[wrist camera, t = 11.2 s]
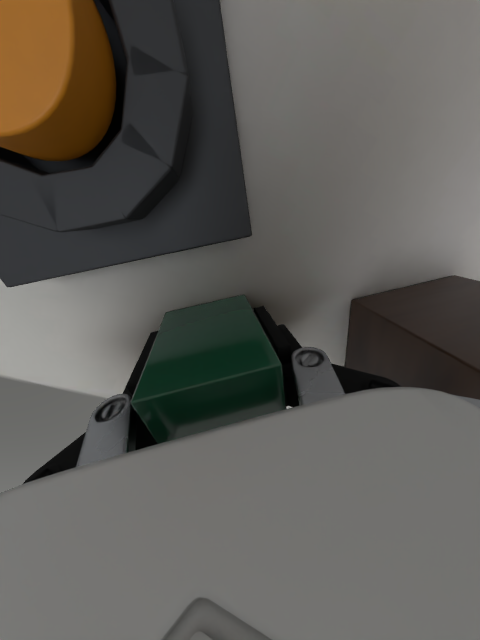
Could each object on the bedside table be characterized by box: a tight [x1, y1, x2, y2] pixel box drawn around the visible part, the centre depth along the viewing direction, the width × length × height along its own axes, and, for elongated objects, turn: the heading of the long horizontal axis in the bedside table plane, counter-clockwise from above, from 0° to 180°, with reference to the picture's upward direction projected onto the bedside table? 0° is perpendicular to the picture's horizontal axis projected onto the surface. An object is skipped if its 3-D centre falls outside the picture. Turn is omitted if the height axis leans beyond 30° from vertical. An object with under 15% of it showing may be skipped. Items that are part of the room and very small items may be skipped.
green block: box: [131, 295, 286, 444], centre depth 9 cm, size 4×4×6 cm
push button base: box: [0, 0, 252, 287], centre depth 5 cm, size 9×9×4 cm
